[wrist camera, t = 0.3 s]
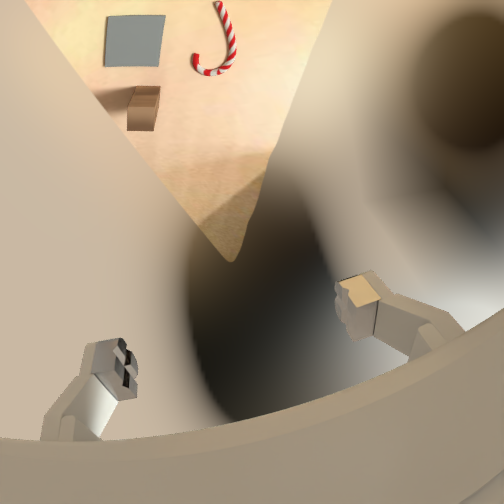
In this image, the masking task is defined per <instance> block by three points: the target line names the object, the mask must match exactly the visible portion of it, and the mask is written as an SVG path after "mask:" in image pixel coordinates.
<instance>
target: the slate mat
mask: <svg viewBox="0 0 504 504" xmlns="http://www.w3.org/2000/svg"><path fill="white" fill-rule="evenodd" d="M164 23H165V15H126V16H109V17H108V26H107V38H106V54H105V67H117V66H156V67H158V66H159V58H160V50H161V43H162V36H163V29H164Z"/></svg>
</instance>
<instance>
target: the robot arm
mask: <svg viewBox="0 0 504 504" xmlns="http://www.w3.org/2000/svg"><path fill="white" fill-rule="evenodd" d="M335 291H336V293H337V294H338V295H337V297H336V298H335V308H336V312H337V314H338V317H339V319H340V321H341V322H342V323H345V324H346V330H347V332H348V334H349V336H350V337H351V339H352V340H353V342H356V341H359V340H361V339H364V338H367V337H370V336H373V335H374V337H376V338H377V339H379V340H381V341H383V342H384V343H386V344H388V345H389V346H391V347H393V348H395V349H396V350H398V351H400V352H402V353H403V354H405V355H407V356H409V359H408V362H407V363H406V364H404V365H402V366H399V367H397V368H395V369H393V370H391V371H388V372H386V373H384V374H382V375H379V376H377V377H374V378H372V379H370V380H367V381H365V382H362V383H360V384H357V385H355V386H352V387H350V388H347V389H345V390H342V391H339V392H336V393H334V394H331V395H328V396H325V397H322V398H319V399H317V400H313V401H310V402H307V403H304V404H301V405H298V406H295V407H291V408H288V409H285V410H281V411H278V412H274V413H271V414H267V415H263V416H259V417H256V418H252V419H247V420H243V421H239V422H235V423H230V424H225V425H221V426H216V427H211V428H205V429H200V430H195V431H189V432H183V433H175V434H169V435H162V436H153V437H145V438H135V439H122V440H107V441H103V440H102V439H101V438H99V436H100V435H101V433H102V431H103V429H104V427H105V425H106V423H107V422H108V420H109V418H110V416H111V414H112V413H113V411H114V409H115V407H116V405H117V404H118V401H121V400H128V399H133V398H137V383H136V381H135V380H134V379H135V378H136V376H137V375H138V365H137V361H136V359H135V356H134V354H133V353H132V352H131V351H129V350H127V349H126V346H127V344H126V342H125V341H124V339H123V338H115V339H110V340H105V341H99V342H95V343H88V344H87V345H86V346H85V350H84V354H83V359H82V364H81V368H80V373H79V376H76V377H75V378H74V379H73V381H72V382H71V383H70V384H69V385H68V387H67V388H66V389H65V390H64V392H63V393H62V394H61V395H60V397H59V398H58V399H57V400H56V402H55V403H54V404H53V405H52V407H51V408H50V409H49V410H48V412H47V413H46V414H45V416H44V421H43V426H42V432H41V437H40V441H34V440H20V439H9V438H0V504H504V308H503V309H501V310H500V311H498V312H497V313H495V314H494V315H492V316H491V317H489V318H488V319H486V320H485V321H483V322H481V323H480V324H478V325H476V326H475V327H473V328H471V329H470V330H468V331H466V332H465V331H464V330H463V329H462V327H461V326H460V325H459V324H458V323H457V321H456V320H455V319H454V318H453V317H452V316H451V315H450V314H449V312H446V311H444V310H441V309H438V308H435V307H433V306H430V305H427V304H425V303H422V302H419V301H416V300H414V299H411V298H408V297H405V296H403V295H400V294H395V295H394V294H393V293H392V292H391V291H390V289H389V288H388V287H387V286H386V285H385V284H384V282H383V281H382V280H381V279H380V278H379V277H378V276H377V274H376V273H375V272H374V271H372V270H370V271H367V272H364V273H361V274H359V275H355V276H352V277H349V278H346V279H343V280H340V281H337V282H336V283H335Z"/></svg>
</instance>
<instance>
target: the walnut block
mask: <svg viewBox="0 0 504 504" xmlns="http://www.w3.org/2000/svg"><path fill="white" fill-rule="evenodd" d="M160 87H161V86H137V87H136V89H135V91H134V94H133V96H132V98H131V100H130V102H129V105H128V108H127V131H154V126H155V121H156V117H157V112H158V108H159V98H160Z"/></svg>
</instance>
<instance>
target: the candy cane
mask: <svg viewBox="0 0 504 504" xmlns="http://www.w3.org/2000/svg"><path fill="white" fill-rule="evenodd" d="M215 5H216V8H217V10H218V12H219V14H220V17H221V19H222V22H223V24H224V27H225V30H226V34H227V37H228V42H229V56H228V59H227V61H226V62H225V63H224V64H223V65H222V66H221V67H219V68H217V69H213V70H207V69H205V68H203V67H201V66H200V64H199V54H196V53H194V54H193V59H192V62H193V66H194V68H195V69H196V70H197V71H198V72H199V73H201V74H203V75H205V76H216V75H219V74H222V73H224V72H225V71H226V70H228V69H229V68H230V67H231V65H232V64H233V62H234V59H235V56H236V39H235V35H234V31H233V28H232V24H231V21H230V19H229V16H228V14H227V11H226V9H225V7H224V5H223V3H222V2H221V1H217V2H216V3H215Z"/></svg>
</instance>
